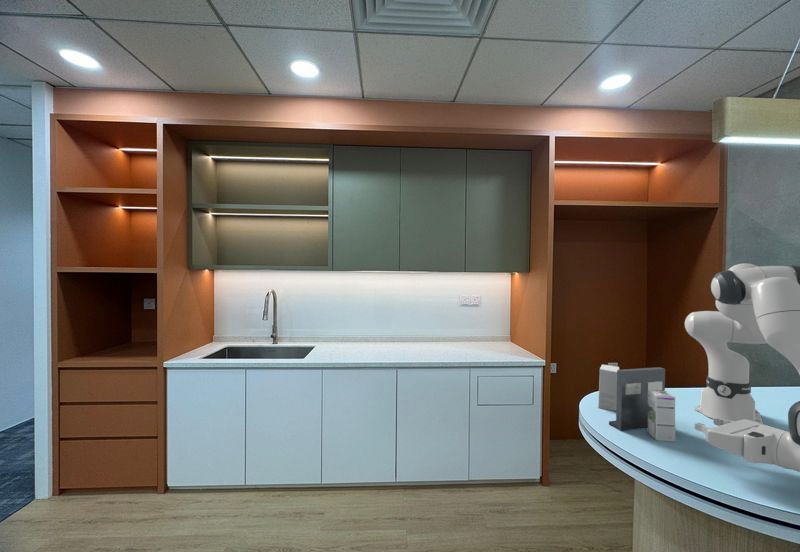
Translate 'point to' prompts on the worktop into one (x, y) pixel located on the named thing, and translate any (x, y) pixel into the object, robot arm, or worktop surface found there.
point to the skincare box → (608, 387)
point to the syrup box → (661, 415)
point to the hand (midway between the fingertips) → (705, 423)
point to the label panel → (635, 396)
